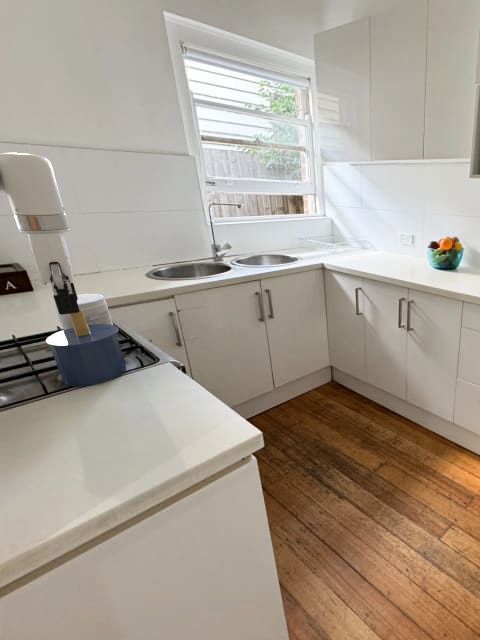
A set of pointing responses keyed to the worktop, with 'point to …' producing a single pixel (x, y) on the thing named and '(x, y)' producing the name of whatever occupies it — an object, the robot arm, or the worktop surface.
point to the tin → (90, 362)
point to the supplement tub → (89, 311)
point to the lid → (81, 333)
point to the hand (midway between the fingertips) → (69, 306)
